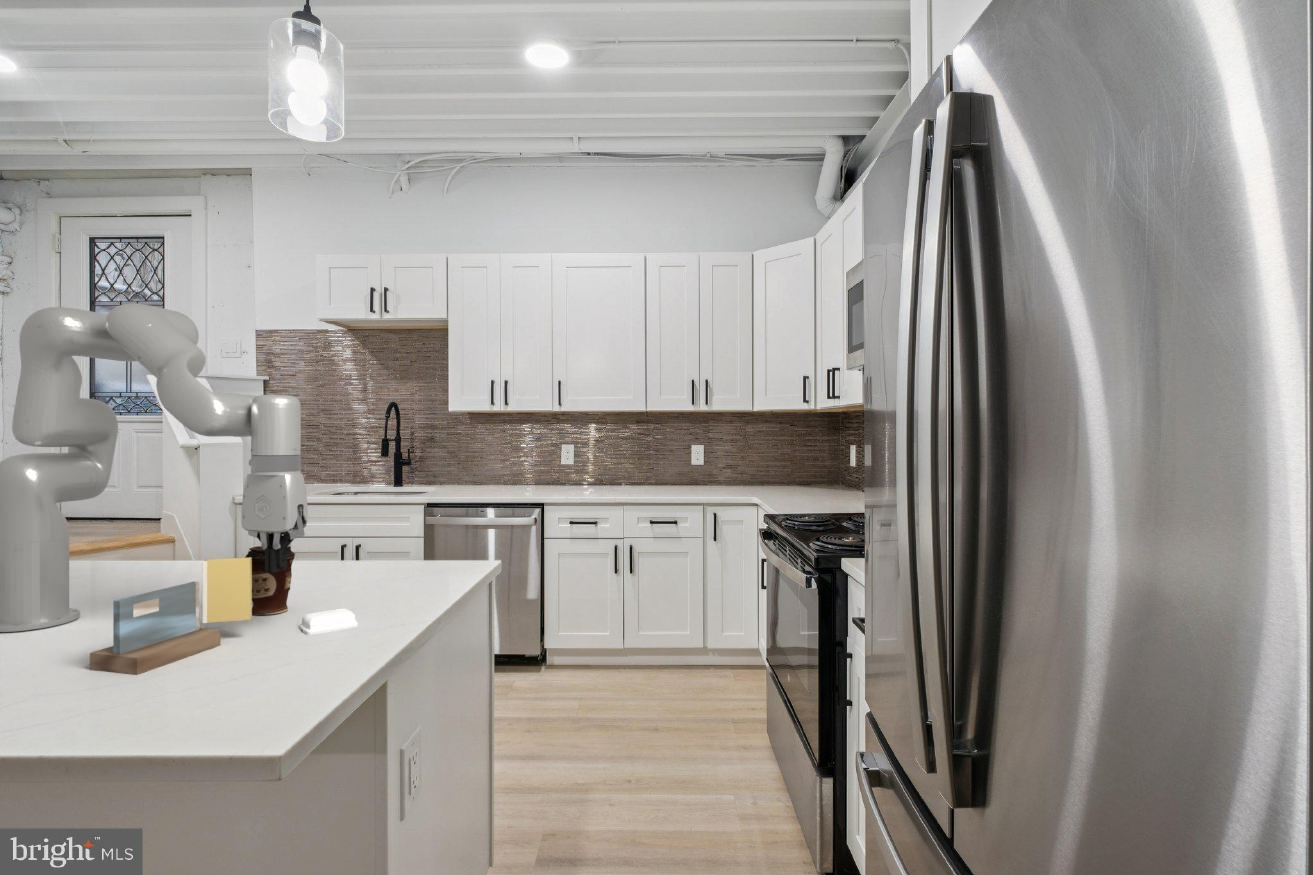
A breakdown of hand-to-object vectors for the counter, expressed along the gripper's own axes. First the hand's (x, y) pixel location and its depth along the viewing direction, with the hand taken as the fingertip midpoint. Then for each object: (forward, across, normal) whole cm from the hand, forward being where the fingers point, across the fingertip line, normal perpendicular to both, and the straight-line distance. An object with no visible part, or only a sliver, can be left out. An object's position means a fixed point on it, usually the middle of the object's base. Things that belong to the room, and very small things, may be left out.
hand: (276, 570), depth 115 cm
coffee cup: (+12, -14, +13) cm, 23 cm away
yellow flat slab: (+8, -6, -4) cm, 11 cm away
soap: (+12, +4, +8) cm, 15 cm away
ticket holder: (+12, -10, -13) cm, 20 cm away
